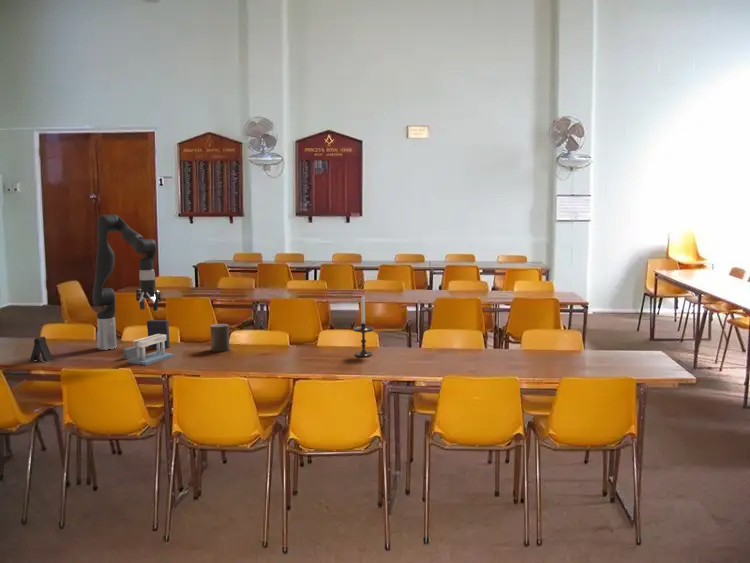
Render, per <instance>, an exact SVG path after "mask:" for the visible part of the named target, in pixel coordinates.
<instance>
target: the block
mask: <svg viewBox="0 0 750 563" xmlns="http://www.w3.org/2000/svg"><path fill="white" fill-rule="evenodd" d="M140 355H141V356H142V348H141V347H140ZM136 357H137V347H133V346H130V347H126V348H123V349H122V358H123V360H130V359H133V358H136Z"/></svg>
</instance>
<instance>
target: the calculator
mask: <svg viewBox="0 0 750 563" xmlns="http://www.w3.org/2000/svg"><path fill="white" fill-rule="evenodd" d="M169 323H170V322H169V320H168V319H165V320H164V319H163V320H161V319H159V320H158V319H149V320H147V321H146V328H147V337H149V336H152V335H156V334H164V335H166V337H167V340H166V341H164V346H165V349H168V348H170V345H171V344H170V327H169ZM148 348H151V349H152V348H153V349H157V343H156V344H152V345H149V346H148ZM160 349H161V342H160Z"/></svg>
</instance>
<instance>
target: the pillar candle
mask: <svg viewBox="0 0 750 563" xmlns="http://www.w3.org/2000/svg"><path fill="white" fill-rule="evenodd" d="M210 348H211V351H212V352H214V353H215V352H216V353H222V351H224V352H228V351H229V350H230V329H229V324H227V323H216V324H215V323H214V324H211V325H210ZM227 350H228V351H227Z"/></svg>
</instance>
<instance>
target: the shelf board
mask: <svg viewBox="0 0 750 563" xmlns="http://www.w3.org/2000/svg"><path fill="white" fill-rule="evenodd" d="M166 340H167V337H166V335H164V334H156V335H152V336H149V337H148V336H145V337H143V338H142V337H141V338H139V339H135V340H132V344H133V346H132V347H141V349H142V347H145V348H146V347H149V345H152V344H156V343H159V342H163V341H166Z"/></svg>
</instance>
